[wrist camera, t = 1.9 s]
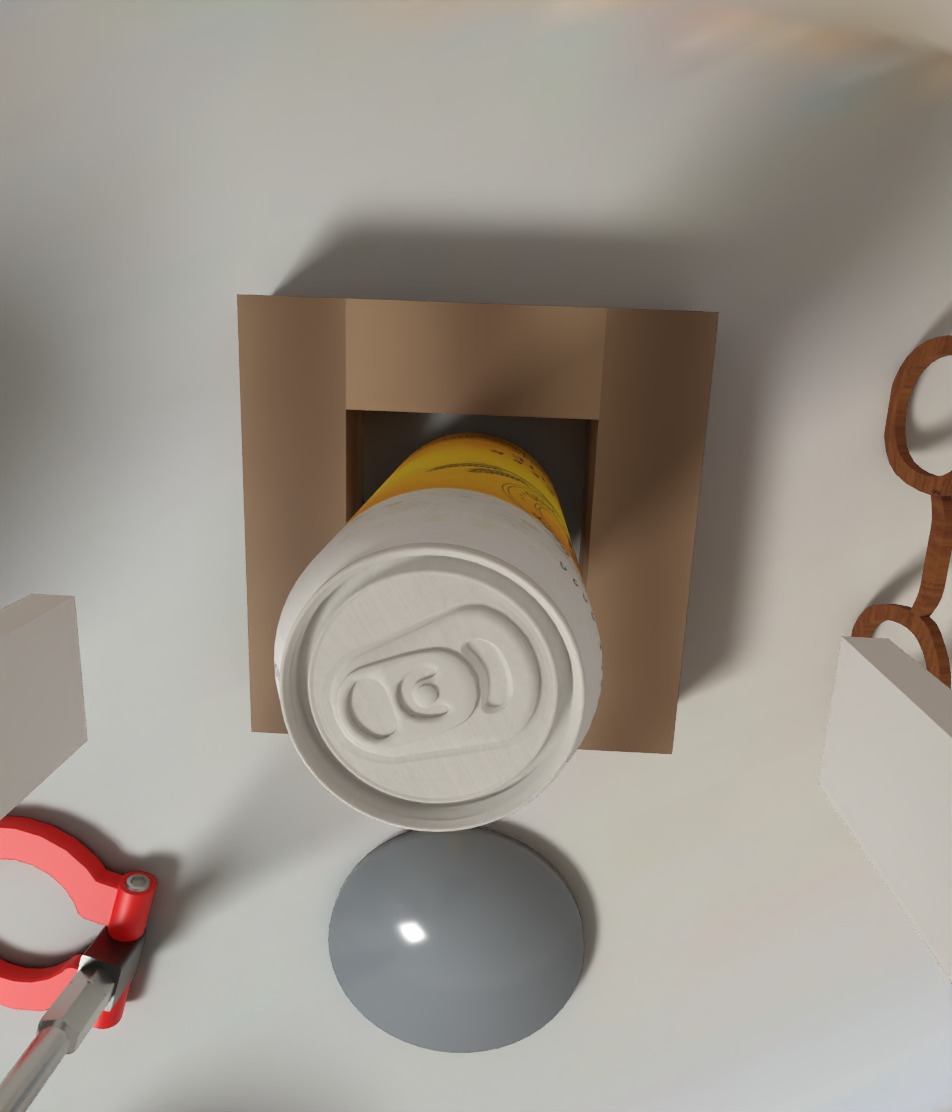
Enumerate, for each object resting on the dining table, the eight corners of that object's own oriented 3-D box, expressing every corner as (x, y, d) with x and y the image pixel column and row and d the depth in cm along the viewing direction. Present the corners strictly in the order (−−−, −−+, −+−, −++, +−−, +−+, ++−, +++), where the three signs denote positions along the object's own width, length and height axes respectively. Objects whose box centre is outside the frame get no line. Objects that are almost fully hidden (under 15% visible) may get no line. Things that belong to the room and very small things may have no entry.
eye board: (276, 694, 31) (251, 731, 28) (266, 299, 27) (236, 294, 24) (656, 714, 30) (671, 754, 27) (695, 315, 27) (718, 311, 24)
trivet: (332, 1032, 34) (329, 1044, 34) (331, 818, 32) (327, 826, 31) (574, 1048, 34) (575, 1060, 33) (591, 833, 31) (593, 842, 31)
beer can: (580, 573, 29) (650, 802, 14) (417, 622, 30) (328, 887, 15) (529, 406, 28) (549, 474, 13) (360, 461, 28) (201, 584, 14)
